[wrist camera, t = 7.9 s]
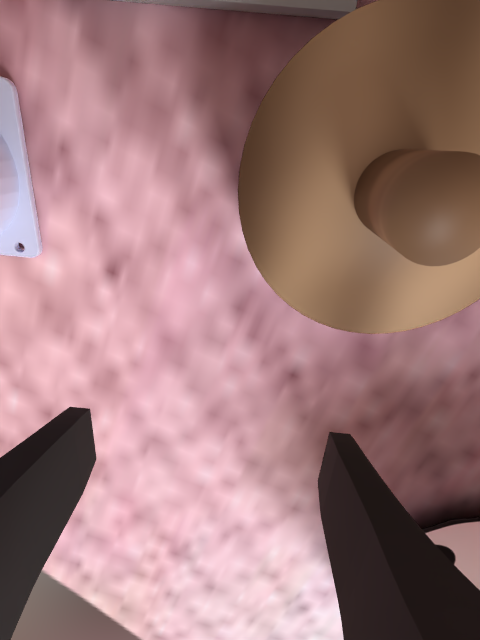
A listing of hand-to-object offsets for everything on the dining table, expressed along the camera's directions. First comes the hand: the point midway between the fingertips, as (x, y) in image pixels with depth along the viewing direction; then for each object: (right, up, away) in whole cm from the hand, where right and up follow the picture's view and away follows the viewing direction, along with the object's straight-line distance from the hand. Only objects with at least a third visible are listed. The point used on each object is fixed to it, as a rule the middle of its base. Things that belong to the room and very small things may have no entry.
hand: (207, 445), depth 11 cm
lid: (+7, +9, +3) cm, 11 cm away
